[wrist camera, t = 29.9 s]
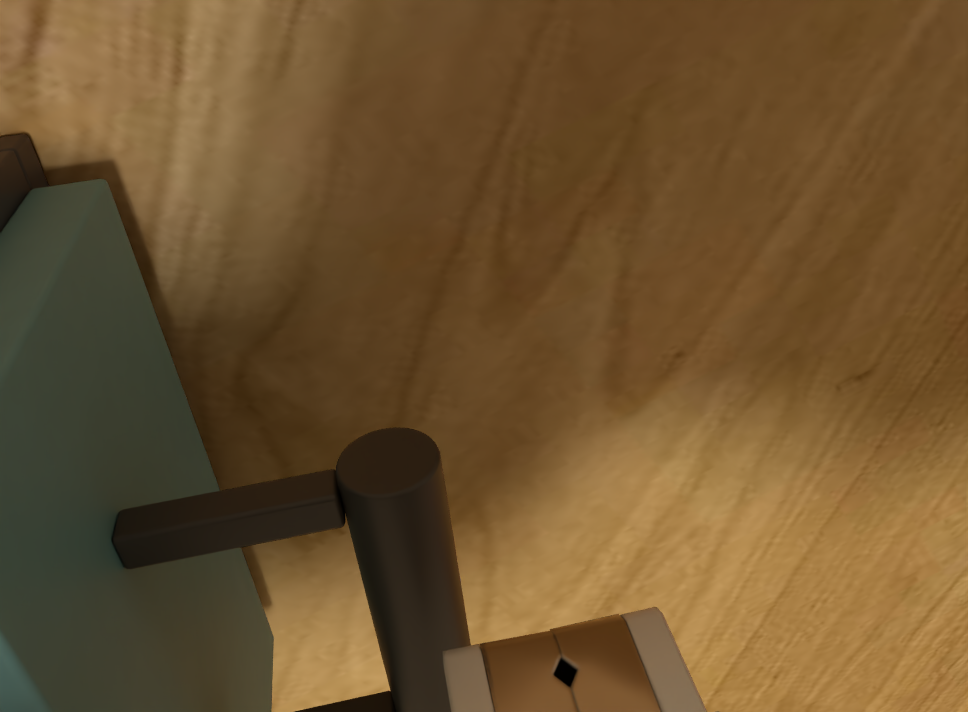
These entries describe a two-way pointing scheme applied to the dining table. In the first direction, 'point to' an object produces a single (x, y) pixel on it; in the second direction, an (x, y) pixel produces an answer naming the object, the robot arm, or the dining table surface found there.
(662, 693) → the robot arm
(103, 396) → the teal drawer
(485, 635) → the dining table surface
